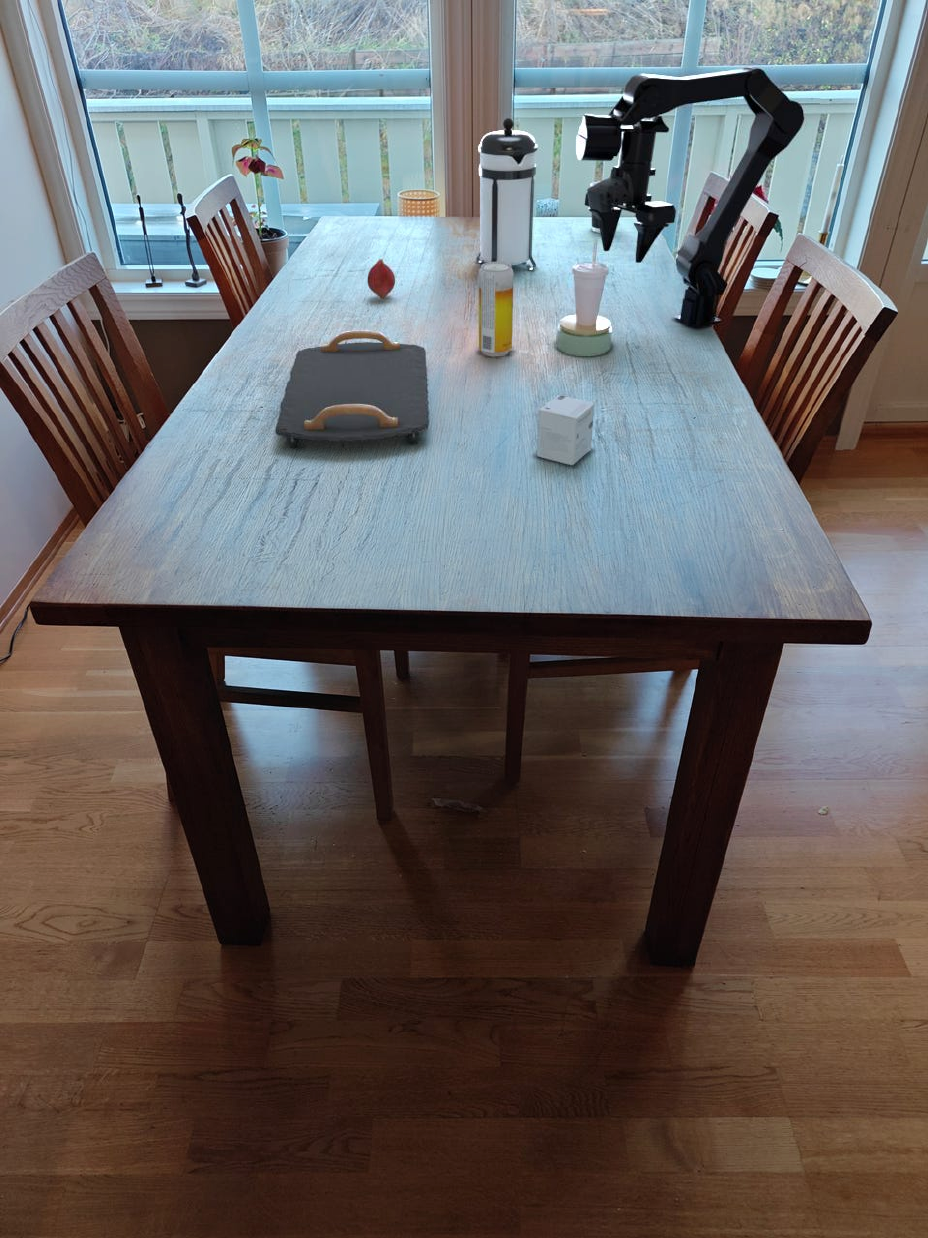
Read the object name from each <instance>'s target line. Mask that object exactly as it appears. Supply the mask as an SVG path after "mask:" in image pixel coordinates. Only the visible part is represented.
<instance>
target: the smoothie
mask: <svg viewBox="0 0 928 1238" xmlns="http://www.w3.org/2000/svg"><path fill="white" fill-rule="evenodd" d="M597 248H598V241H597V240H594V241H593V248H592V249H593V250H592V261H585V262H584V261H583V262H578V263H575V264H574V265H573V266H572V270H571V274H572V275H573V287H574V289H573V290H574V308H575V315H576V323H577V324H579V325H582V326H592V325H595V324H596V323H597V318H598V316H599V312H600V307H601V303H602V299H603V293H604V288H605V283H606V278H607V276H608V275H609V266H608V265H606V264H604V263H600V262H597V250H598V249H597Z"/></svg>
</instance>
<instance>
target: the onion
mask: <svg viewBox="0 0 928 1238" xmlns="http://www.w3.org/2000/svg"><path fill="white" fill-rule="evenodd" d="M367 285H368V288H369V289H370V291H371V292H372V293H373V294H375V295H376V296H377V297H379V298H380V299H386V298H387V296H388V295H389V294H390V293H391V292H392V291H393V289H394V287H395V285H396V277H395V273H394V271H393V270H392V269H391V267H390V266H389V265H387V264H385V263H384V261H383V259H382V258H379V259H378V261H377V262H376V263H375V264H373V266H372V267H371V268H370V269H369V271H368V273H367Z"/></svg>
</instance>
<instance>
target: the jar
mask: <svg viewBox="0 0 928 1238" xmlns="http://www.w3.org/2000/svg"><path fill="white" fill-rule="evenodd" d="M612 337H613V328H612V325H611V321H610V320H609V319H608V318H606V317H603V316H601V315H598V318H597V323H596V324H595V325H592V326H582V325H579V324H577V323H576V314H571V315H568V316H565V317H563V318H561V319H560V320H559V324H558V325H557V329H556V343H555V346H556V348H557V349H558V350H559V351H560V352H562V353H564V354H566V355H570V356H576V357H595V356H600V355H604V354H606V353H607V352H609V351H610V350H611V348H612Z"/></svg>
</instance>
